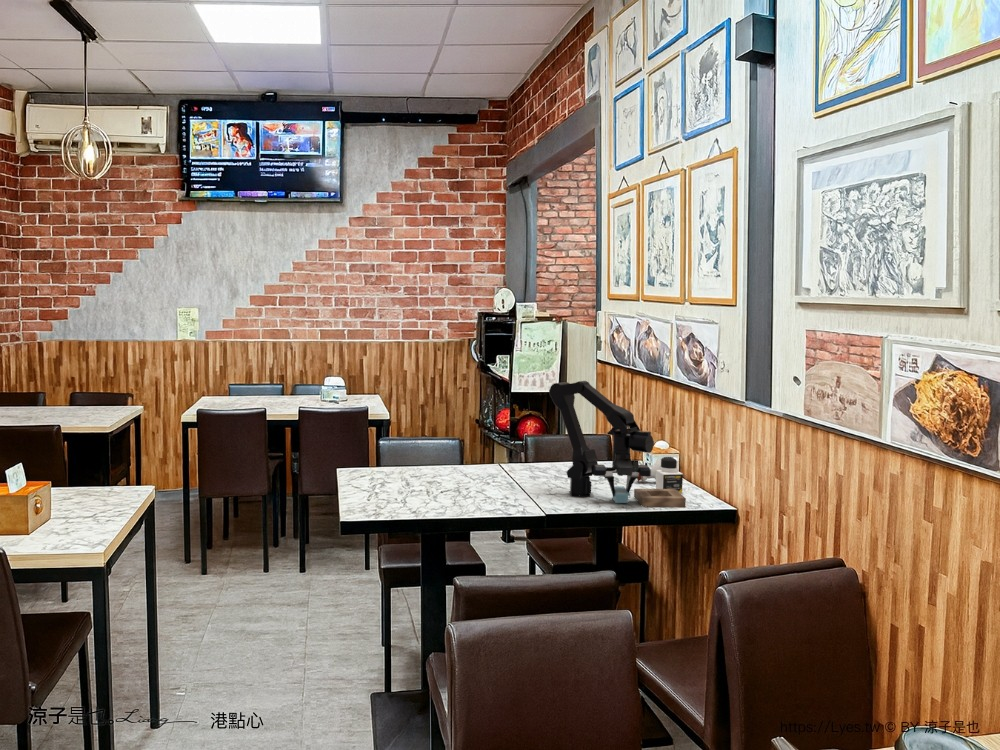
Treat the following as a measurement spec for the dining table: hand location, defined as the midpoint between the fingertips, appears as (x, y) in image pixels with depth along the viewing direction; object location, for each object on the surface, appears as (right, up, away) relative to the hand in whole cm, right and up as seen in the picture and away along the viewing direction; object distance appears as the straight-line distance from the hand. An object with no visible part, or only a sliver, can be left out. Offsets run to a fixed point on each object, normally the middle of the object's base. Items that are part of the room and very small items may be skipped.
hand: (620, 496), depth 301 cm
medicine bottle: (+19, -1, +17) cm, 26 cm away
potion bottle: (+17, 0, +31) cm, 35 cm away
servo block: (0, -2, 0) cm, 2 cm away
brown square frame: (+13, -2, +1) cm, 13 cm away
